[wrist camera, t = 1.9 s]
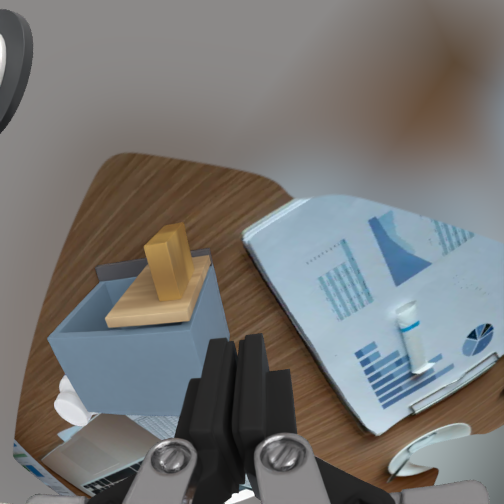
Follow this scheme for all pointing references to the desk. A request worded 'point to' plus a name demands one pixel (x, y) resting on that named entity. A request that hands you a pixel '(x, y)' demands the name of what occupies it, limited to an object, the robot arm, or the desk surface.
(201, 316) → the grey-blue hollow box
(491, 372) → the desk surface
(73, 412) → the pill bottle
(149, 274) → the tan piece
